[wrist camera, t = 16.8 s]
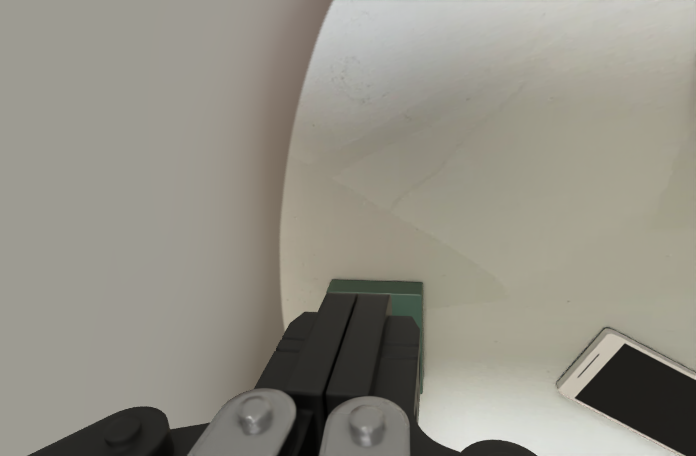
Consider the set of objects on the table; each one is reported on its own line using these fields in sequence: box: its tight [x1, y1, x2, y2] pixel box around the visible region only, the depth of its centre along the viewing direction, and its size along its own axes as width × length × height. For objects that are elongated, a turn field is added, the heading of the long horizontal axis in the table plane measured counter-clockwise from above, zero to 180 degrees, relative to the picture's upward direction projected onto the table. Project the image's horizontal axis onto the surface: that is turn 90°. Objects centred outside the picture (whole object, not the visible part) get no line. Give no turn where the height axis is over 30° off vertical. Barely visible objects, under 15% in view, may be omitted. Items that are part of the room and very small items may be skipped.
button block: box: [327, 280, 423, 394], centre depth 41 cm, size 10×8×4 cm
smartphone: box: [556, 329, 696, 456], centre depth 40 cm, size 7×16×1 cm, turn 65°
